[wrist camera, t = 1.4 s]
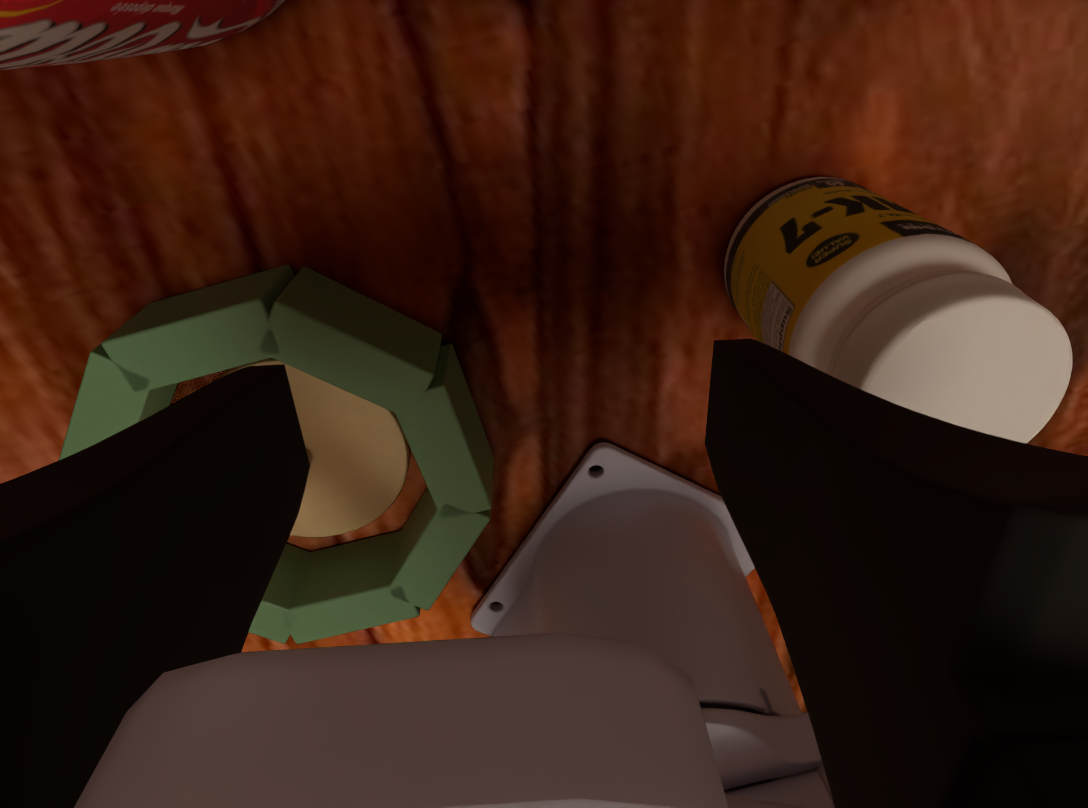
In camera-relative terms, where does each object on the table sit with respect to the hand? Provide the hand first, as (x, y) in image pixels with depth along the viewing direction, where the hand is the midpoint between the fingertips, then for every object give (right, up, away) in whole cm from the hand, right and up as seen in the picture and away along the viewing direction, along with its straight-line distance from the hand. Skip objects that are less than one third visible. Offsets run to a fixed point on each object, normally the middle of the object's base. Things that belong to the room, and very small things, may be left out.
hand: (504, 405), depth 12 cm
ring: (-7, -1, +11) cm, 13 cm away
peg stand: (-7, -1, +11) cm, 13 cm away
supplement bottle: (+8, +4, +9) cm, 13 cm away
